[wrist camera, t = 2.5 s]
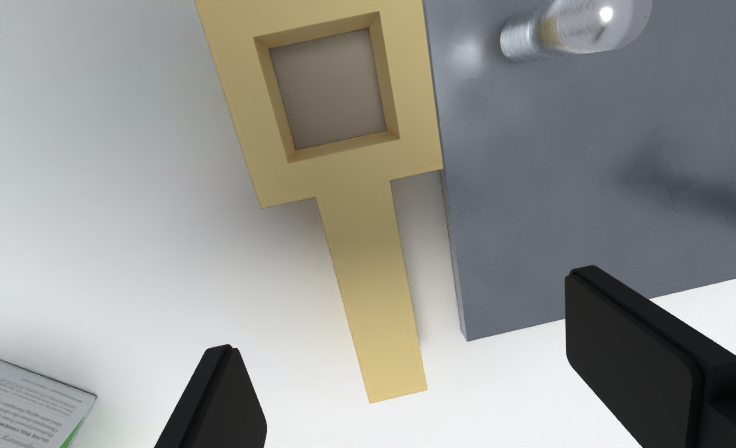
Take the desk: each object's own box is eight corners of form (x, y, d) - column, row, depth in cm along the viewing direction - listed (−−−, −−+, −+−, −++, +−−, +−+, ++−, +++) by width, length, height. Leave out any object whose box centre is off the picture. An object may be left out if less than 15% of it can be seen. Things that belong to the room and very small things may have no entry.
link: (222, 16, 15) (192, -5, 12) (396, -19, 15) (415, -50, 12) (326, 364, 22) (326, 414, 18) (448, 336, 22) (469, 379, 18)
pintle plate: (408, -75, 15) (470, -203, 8) (875, -169, 15) (1269, -356, 9) (461, 330, 22) (516, 429, 15) (779, 256, 22) (960, 322, 16)
